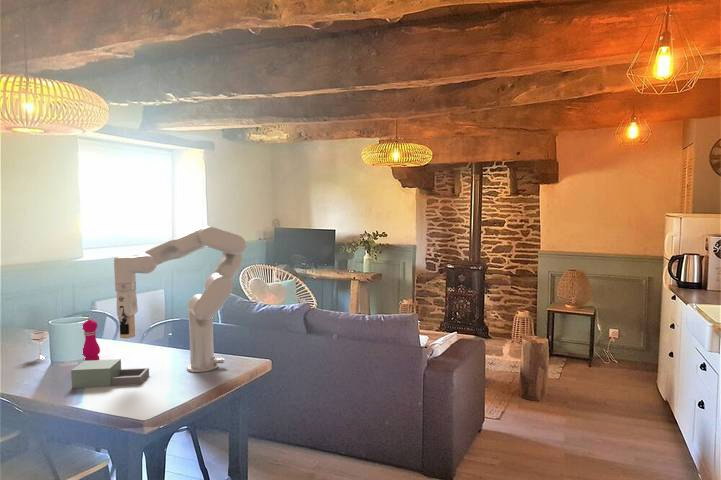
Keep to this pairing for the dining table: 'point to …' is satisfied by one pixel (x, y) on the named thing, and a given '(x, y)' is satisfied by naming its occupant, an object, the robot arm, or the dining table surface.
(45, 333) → the wineglass
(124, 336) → the candle
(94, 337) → the pepper mill
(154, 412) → the dining table surface
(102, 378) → the green boxy piece
